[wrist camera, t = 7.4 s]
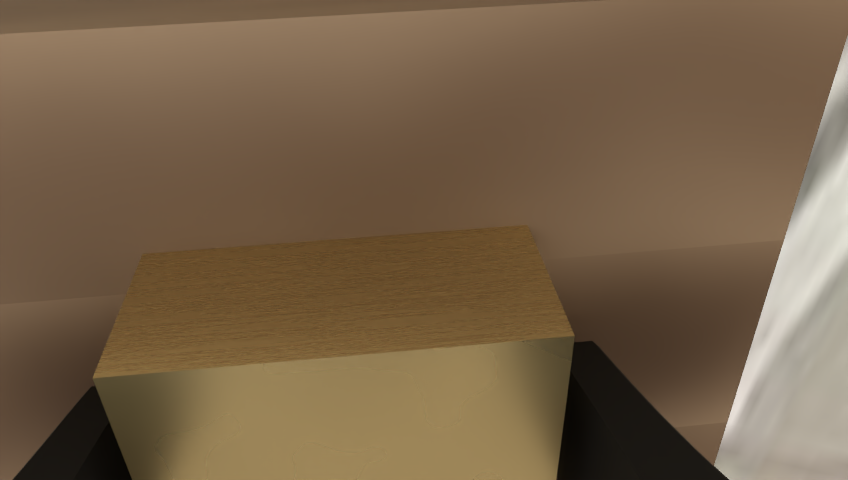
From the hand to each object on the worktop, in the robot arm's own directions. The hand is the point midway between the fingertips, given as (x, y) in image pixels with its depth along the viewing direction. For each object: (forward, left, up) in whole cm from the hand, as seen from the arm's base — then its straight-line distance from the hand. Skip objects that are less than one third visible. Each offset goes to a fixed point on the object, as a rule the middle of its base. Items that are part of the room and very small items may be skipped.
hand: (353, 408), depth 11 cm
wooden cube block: (0, 0, -4) cm, 4 cm away
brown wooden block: (0, 0, -5) cm, 5 cm away
